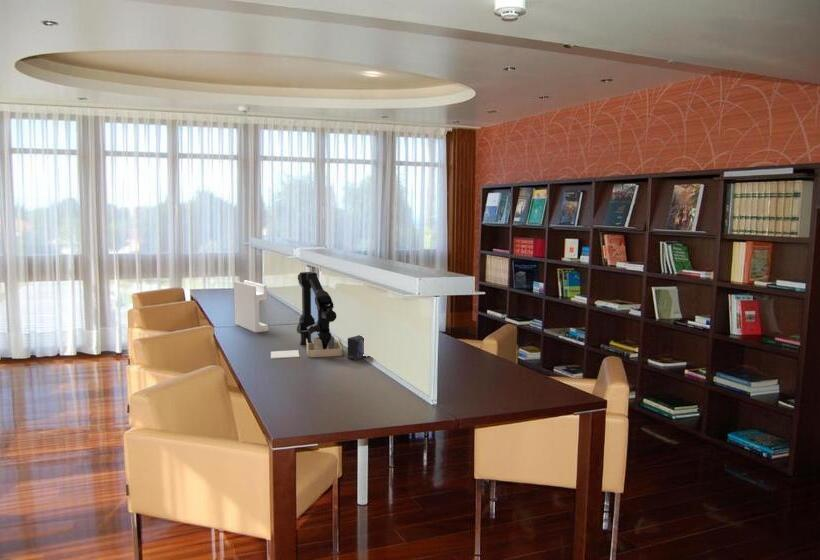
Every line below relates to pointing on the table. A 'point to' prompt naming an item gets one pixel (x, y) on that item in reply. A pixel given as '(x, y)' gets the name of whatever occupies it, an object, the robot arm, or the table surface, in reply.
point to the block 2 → (319, 345)
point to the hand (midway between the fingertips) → (324, 348)
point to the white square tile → (284, 354)
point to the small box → (356, 347)
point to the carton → (325, 350)
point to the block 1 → (249, 305)
